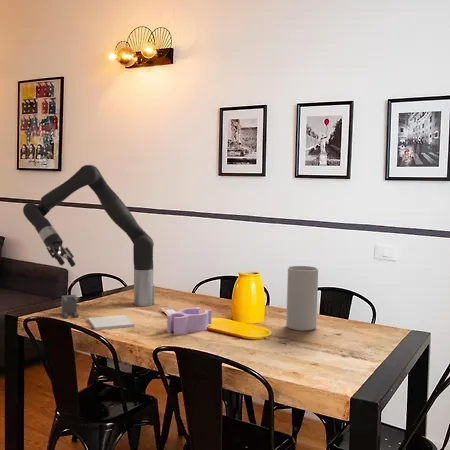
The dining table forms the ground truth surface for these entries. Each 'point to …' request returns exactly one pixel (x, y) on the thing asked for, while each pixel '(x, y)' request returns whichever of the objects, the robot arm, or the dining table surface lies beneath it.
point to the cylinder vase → (302, 298)
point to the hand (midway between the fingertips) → (68, 265)
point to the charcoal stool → (69, 305)
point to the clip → (188, 321)
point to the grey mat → (110, 322)
